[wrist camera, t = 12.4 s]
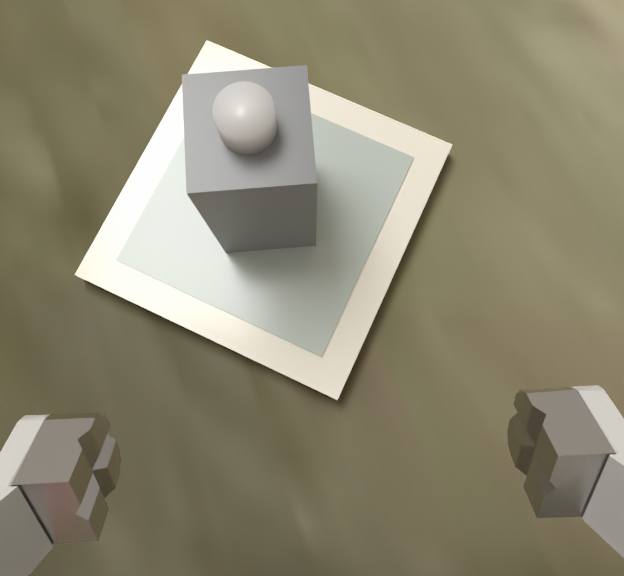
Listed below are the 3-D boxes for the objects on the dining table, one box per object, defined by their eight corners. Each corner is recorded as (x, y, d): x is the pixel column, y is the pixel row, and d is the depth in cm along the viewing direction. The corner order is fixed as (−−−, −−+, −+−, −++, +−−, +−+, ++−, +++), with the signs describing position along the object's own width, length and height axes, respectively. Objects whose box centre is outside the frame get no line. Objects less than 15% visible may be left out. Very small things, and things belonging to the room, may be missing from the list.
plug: (316, 245, 25) (317, 168, 16) (225, 253, 25) (177, 179, 16) (308, 161, 26) (306, 43, 17) (221, 168, 26) (172, 53, 17)
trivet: (336, 399, 25) (337, 400, 24) (83, 279, 26) (73, 274, 25) (447, 153, 27) (452, 143, 26) (210, 52, 29) (206, 38, 28)
